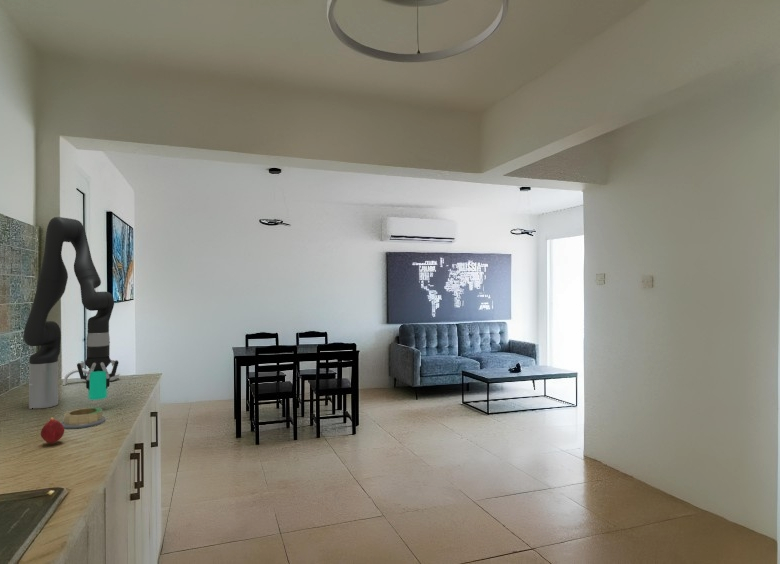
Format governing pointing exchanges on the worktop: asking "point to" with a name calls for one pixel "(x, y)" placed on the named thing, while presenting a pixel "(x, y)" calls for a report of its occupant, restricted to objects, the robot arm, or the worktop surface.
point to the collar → (82, 416)
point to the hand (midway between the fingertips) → (97, 388)
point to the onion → (52, 431)
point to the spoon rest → (86, 373)
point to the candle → (97, 385)
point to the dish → (83, 424)
